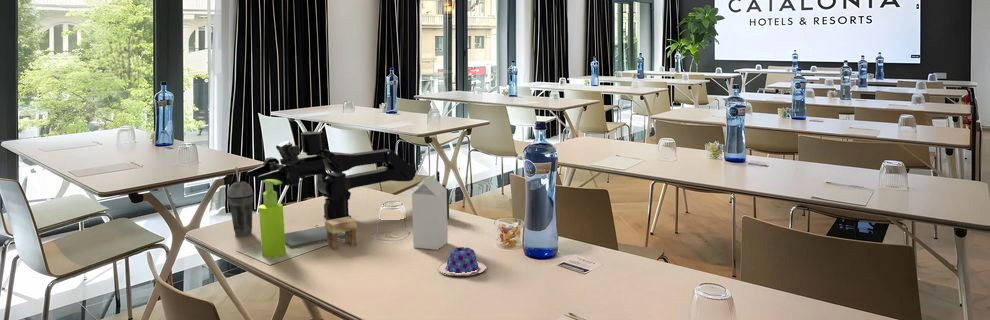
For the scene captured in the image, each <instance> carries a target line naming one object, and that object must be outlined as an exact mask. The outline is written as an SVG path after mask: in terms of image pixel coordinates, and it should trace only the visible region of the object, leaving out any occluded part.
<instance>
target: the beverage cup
mask: <svg viewBox="0 0 990 320" xmlns="http://www.w3.org/2000/svg"><path fill="white" fill-rule="evenodd" d="M234 168H235V175H236V181H235V182H233V183H232V184H231V185H230V186H229V187H228V189H227V195H226V198H227V202H228V205H229V209H230V214H231V221H232V227H233V231H234V236H235V237H237V238H245V237H249V236H251V235H252V231H253V202H254V195H255V194H254V191H253V188H252V186H251V184H249V183H248V182H246V181H243V180H241V181H240V177H239V171H238V170H239V169H238V166H235V167H234Z"/></svg>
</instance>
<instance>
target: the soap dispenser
mask: <svg viewBox="0 0 990 320" xmlns="http://www.w3.org/2000/svg"><path fill="white" fill-rule="evenodd" d="M262 183H264V184H265V189H266V191H265V190H264V192H263V193H262V195H263V197H262V198H263V204H261V205H259V206H258V211H259V212H258V214H259V215H258V216H259V226H260V227H259V228H260V240H261V241H260V242H261V254H262V257H264V258H270V259H271V258H273V259H274V258H280V257H283V256H285V255H286V254H287V253H286V252H287V249H286V245H285V233H286V232H285V222H284V221H285V218H284V207H283V204H282V203H279V202H278V192H277V191H275V190H274V185H275V186H279V185H281V184H282V182H281V181H279V180H275V179H267V180H263V181H262Z"/></svg>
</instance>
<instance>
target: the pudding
mask: <svg viewBox="0 0 990 320" xmlns="http://www.w3.org/2000/svg"><path fill="white" fill-rule="evenodd" d="M477 261H478V260H477V256H476V252H475V251H474V249H472V248H470V247H464V246H463V247H462V246H461V247H454V248H452V249H451V250H450V251H449V254H448V257H447V261H445V262H443V263H441V264H440V265H438V267H437V270H438V272H439V273H441V274H442V275H446V274H444V273H442V272H440V270H439V268H440V266H441V265H442V264H444V263H446V262H447V266H446V268H447V270H446V272H447V271H449V272H455V273H462V272H465V273H467V272H471V271H475V270H477V269H478V263H477ZM483 264H484V265H485V266H486V270H487V269H488V268H487V265H486V264H485V263H483ZM478 270H479V269H478ZM446 276H447V275H446Z"/></svg>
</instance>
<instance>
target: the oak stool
mask: <svg viewBox="0 0 990 320" xmlns="http://www.w3.org/2000/svg"><path fill="white" fill-rule="evenodd" d="M324 226H325V230H327V241H326V242H327V246H328V247H331V248H332V249H333V250H339V239H338V233H340V232H342V233H344V234H345V238H344V239H345V241H344V242H345V243H346V244H349V243H350V246H351V247H353V246H357V230H358V220H357V219H355V218H353V217H352V216H351V217H349V216H348V217H343V218H337V219H332V220H329V219H326V220H324Z"/></svg>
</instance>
